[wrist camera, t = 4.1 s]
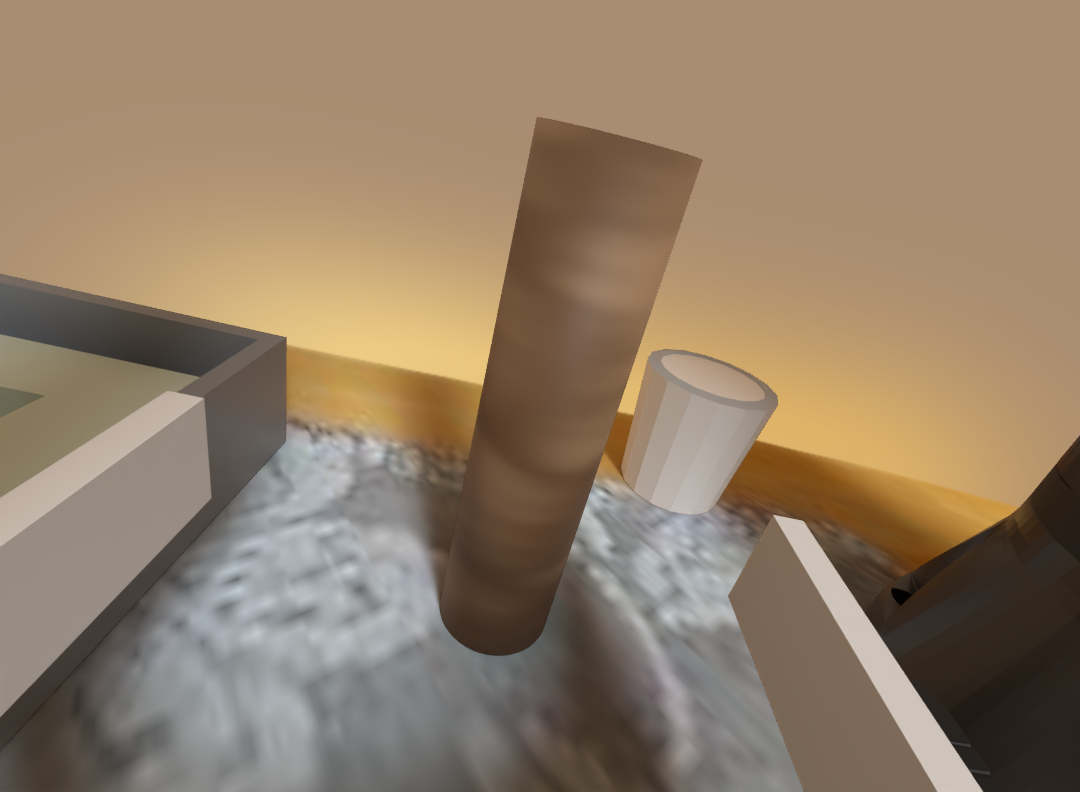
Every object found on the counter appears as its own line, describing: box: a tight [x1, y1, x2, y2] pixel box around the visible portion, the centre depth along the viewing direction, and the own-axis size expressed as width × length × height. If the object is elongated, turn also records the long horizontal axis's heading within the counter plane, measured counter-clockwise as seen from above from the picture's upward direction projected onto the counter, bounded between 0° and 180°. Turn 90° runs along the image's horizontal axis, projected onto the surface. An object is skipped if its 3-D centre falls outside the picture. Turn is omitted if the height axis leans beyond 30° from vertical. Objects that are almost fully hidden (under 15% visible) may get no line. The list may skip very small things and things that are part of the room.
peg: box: [440, 117, 702, 656], centre depth 16 cm, size 4×4×16 cm
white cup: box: [621, 349, 778, 515], centre depth 28 cm, size 7×7×7 cm
